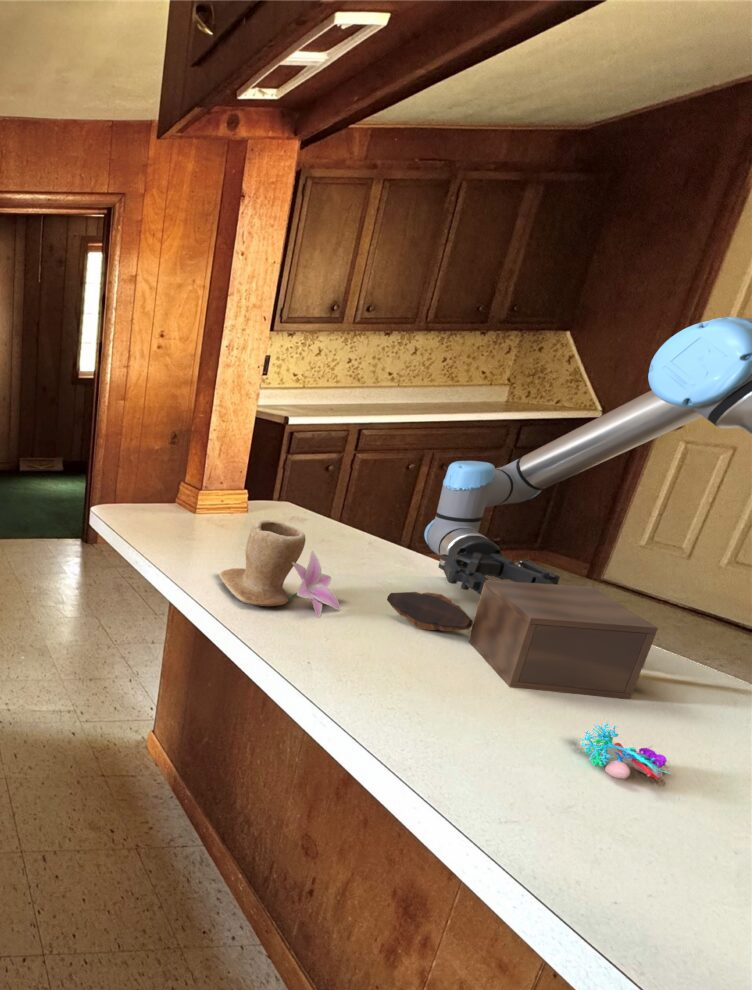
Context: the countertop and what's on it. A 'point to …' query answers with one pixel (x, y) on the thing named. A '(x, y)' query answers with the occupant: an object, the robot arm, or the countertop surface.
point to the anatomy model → (641, 762)
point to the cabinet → (561, 638)
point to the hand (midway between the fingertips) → (522, 595)
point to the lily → (315, 585)
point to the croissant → (430, 611)
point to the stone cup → (266, 564)
